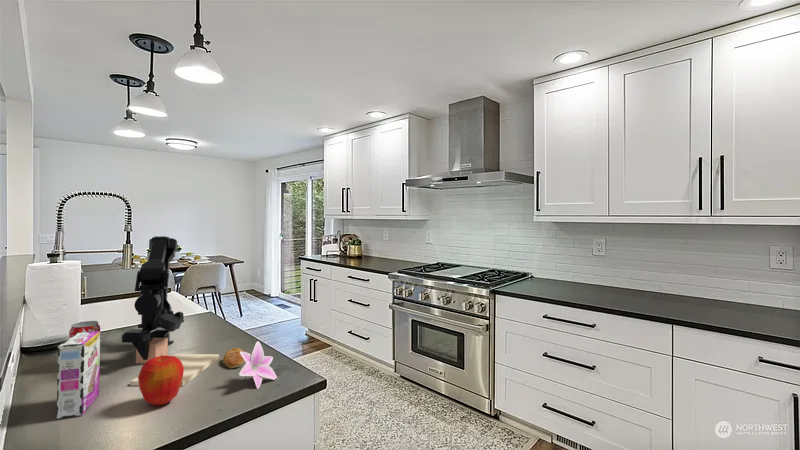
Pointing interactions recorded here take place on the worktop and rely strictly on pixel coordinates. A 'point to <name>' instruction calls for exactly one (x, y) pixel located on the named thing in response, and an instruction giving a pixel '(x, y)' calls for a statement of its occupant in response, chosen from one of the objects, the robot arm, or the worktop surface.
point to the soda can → (84, 328)
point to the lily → (257, 365)
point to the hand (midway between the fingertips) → (152, 355)
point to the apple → (160, 379)
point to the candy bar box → (78, 374)
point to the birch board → (190, 366)
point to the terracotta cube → (154, 349)
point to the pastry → (233, 358)
